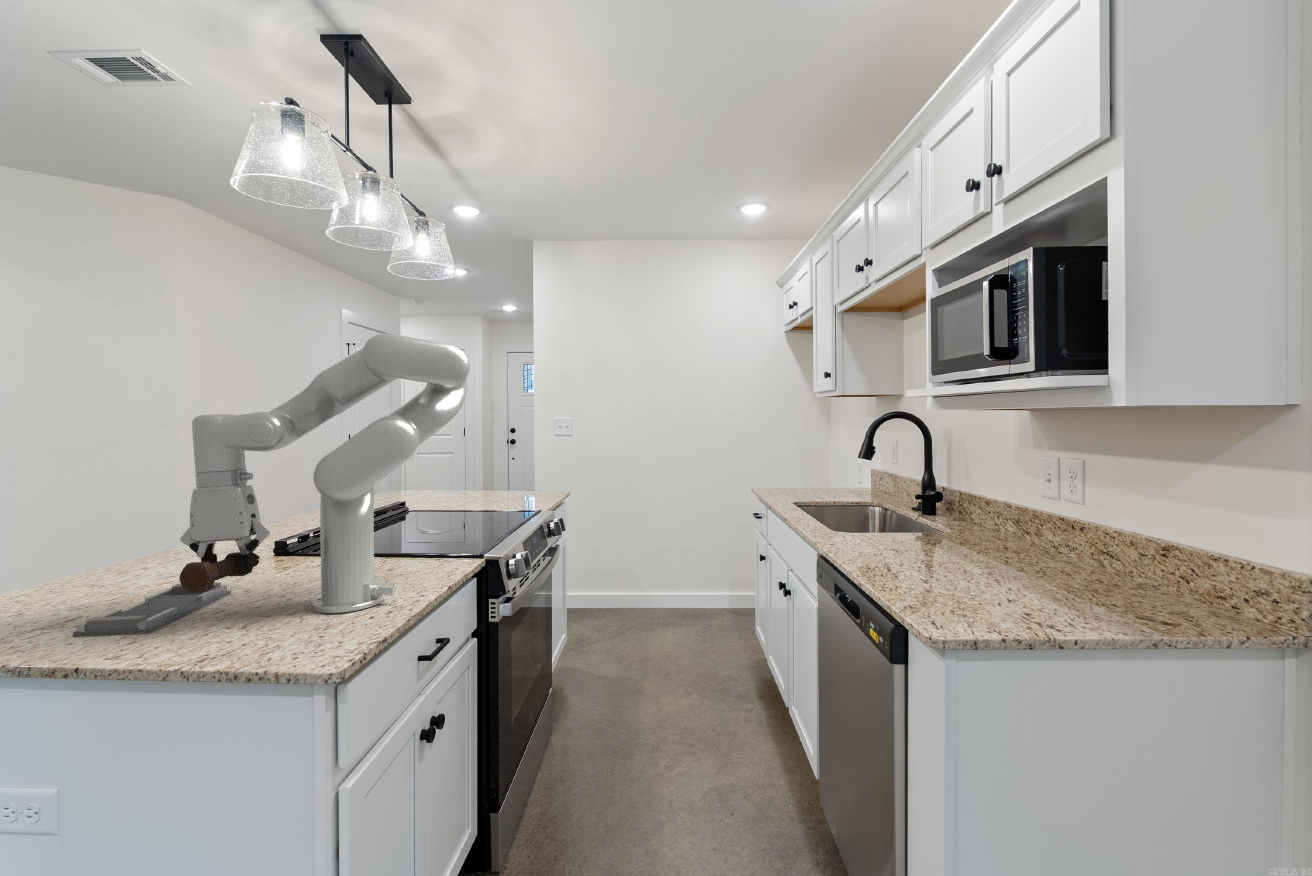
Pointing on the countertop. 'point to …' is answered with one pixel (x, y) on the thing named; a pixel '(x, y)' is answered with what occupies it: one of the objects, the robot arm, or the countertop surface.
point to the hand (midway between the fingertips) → (228, 574)
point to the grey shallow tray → (120, 622)
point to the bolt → (210, 572)
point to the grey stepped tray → (181, 602)
